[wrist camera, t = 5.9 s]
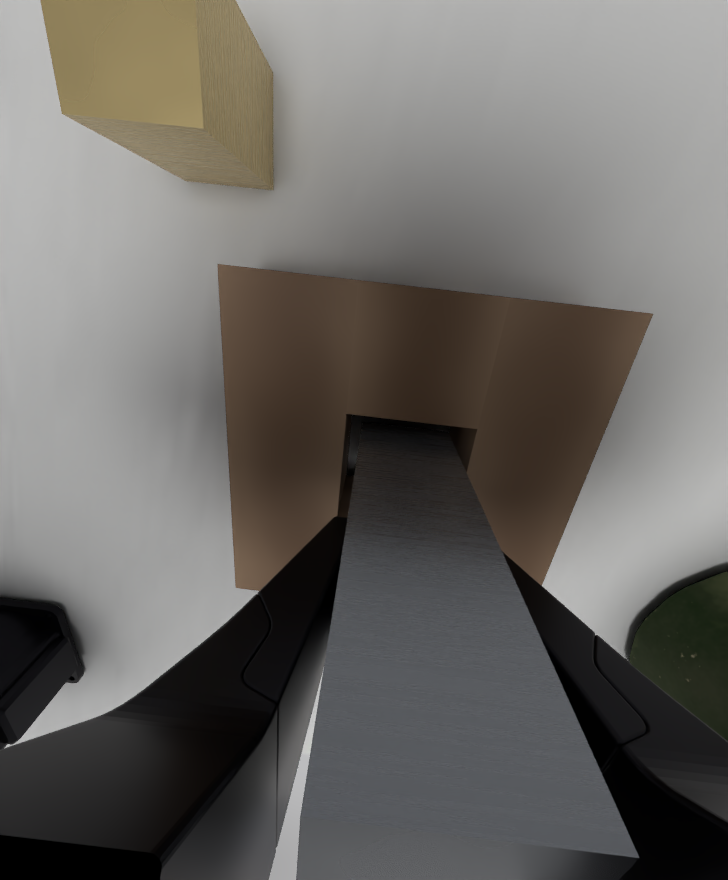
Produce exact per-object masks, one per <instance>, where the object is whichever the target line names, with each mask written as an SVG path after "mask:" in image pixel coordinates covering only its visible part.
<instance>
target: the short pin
mask: <svg viewBox="0 0 728 880" xmlns="http://www.w3.org/2000/svg"><path fill="white" fill-rule="evenodd" d="M41 5H42V11H43V16H44V21H45V26H46V32H47V37H48V42H49V48H50V53H51V58H52V63H53V69H54V74H55V79H56V85H57V90H58V95H59V100H60V106H61V111H62V114H63V115H65V116H67V117H69V118H71V119H73V120H74V121H76V122H78V123H80V124H82V125H84V126H86V127H87V128H89V129H91V130H93V131H95V132H97V133H98V134H100V135H102V136H104V137H106V138H108V139H110V140H111V141H113V142H115V143H117V144H119V145H121V146H122V147H124V148H126V149H128V150H130V151H132V152H133V153H135V154H137V155H139V156H141V157H143V158H145V159H146V160H148V161H150V162H152V163H154V164H156V165H157V166H159V167H161V168H163V169H165V170H167V171H169V172H170V173H172V174H174V175H176V176H178V177H180V178H181V179H183V180H185V181H191V182H201V183H210V184H220V185H229V186H238V187H248V188H257V189H267V190H273V72H272V70H271V68H270V66H269V64H268V62H267V60H266V58H265V56H264V54H263V53H262V51H261V49H260V47H259V45H258V43H257V41H256V39H255V37H254V35H253V33H252V31H251V29H250V27H249V26H248V24H247V22H246V20H245V18H244V16H243V14H242V12H241V10H240V8H239V6H238V4H237V2H236V0H41Z"/></svg>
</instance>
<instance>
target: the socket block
mask: <svg viewBox="0 0 728 880" xmlns="http://www.w3.org/2000/svg"><path fill="white" fill-rule="evenodd" d="M218 281H219V298H220V316H221V334H222V352H223V369H224V387H225V405H226V423H227V441H228V458H229V476H230V494H231V512H232V529H233V547H234V565H235V583H236V588H241V589H250V590H258V591H260V590H261V589H262V588H263V587H264V586H265V585H266V584H267V583H268V582H269V581H270V580H271V579H272V578H273V577H274V576H275V575H276V574H277V573H278V572H279V571H280V570H281V569H282V568H283V567H284V566H285V565H286V564H287V563H288V562H289V561H290V560H291V559H292V558H293V557H294V556H295V555H296V554H297V553H298V552H299V551H300V550H301V549H302V548H303V547H304V546H305V545H306V544H307V543H308V542H309V541H310V540H311V539H312V538H313V537H314V536H315V535H316V534H317V533H318V532H319V531H320V530H321V529H322V528H323V527H324V526H325V525H326V524H327V523H328V522H329V521H330V520H331V519H332V518H333V517H335V516H338V517H346V518H348V512H349V506H350V499H351V493H352V487H353V480H354V476H350V475H346V472H347V462H348V452H349V441H350V431H351V421H352V415H361V416H369V417H378V418H386V419H395V420H403V421H412V422H421V423H429V424H438V425H446V426H450V431H449V435H450V437H451V439H452V441H453V444H454V446H455V448H456V450H457V453H458V455H459V457H460V459H461V461H462V464H463V466H464V468H465V470H466V473H467V475H468V477H469V479H470V481H471V484H472V486H473V488H474V490H475V493H476V495H477V497H478V499H479V502H480V504H481V506H482V508H483V510H484V513H485V515H486V517H487V519H488V522H489V524H490V526H491V528H492V530H493V533H494V535H495V537H496V539H497V542H498V544H499V546H500V548H501V551H503V552H504V553H505V554H506V555H507V556H508V557H509V558H511V559H512V560H513V561H514V562H515V563H516V564H517V565H519V566H520V567H521V568H522V569H523V570H524V571H525V572H526V573H528V574H529V575H530V576H531V577H532V578H533V579H534V580H536V581H537V582H538V583H539V584H540V585H541V586H542V583H543V581H544V579H545V576H546V574H547V571H548V569H549V566H550V564H551V562H552V559H553V557H554V554H555V552H556V549H557V547H558V545H559V542H560V540H561V537H562V535H563V532H564V530H565V527H566V525H567V523H568V520H569V518H570V515H571V513H572V510H573V508H574V506H575V503H576V501H577V498H578V496H579V493H580V491H581V488H582V486H583V484H584V481H585V479H586V476H587V474H588V471H589V469H590V467H591V464H592V462H593V459H594V457H595V454H596V452H597V450H598V447H599V445H600V442H601V440H602V437H603V435H604V432H605V430H606V428H607V425H608V423H609V420H610V418H611V415H612V413H613V411H614V408H615V406H616V403H617V401H618V398H619V396H620V394H621V391H622V389H623V386H624V384H625V381H626V379H627V376H628V374H629V372H630V369H631V367H632V364H633V362H634V359H635V357H636V355H637V352H638V350H639V347H640V345H641V342H642V340H643V338H644V335H645V333H646V330H647V328H648V325H649V323H650V320H651V318H652V316H653V314H651V313H642V312H633V311H624V310H615V309H607V308H598V307H589V306H580V305H572V304H563V303H554V302H545V301H537V300H528V299H519V298H510V297H502V296H493V295H484V294H475V293H466V292H458V291H449V290H440V289H431V288H423V287H414V286H405V285H396V284H388V283H379V282H370V281H361V280H353V279H344V278H335V277H326V276H317V275H309V274H300V273H291V272H282V271H274V270H265V269H256V268H247V267H239V266H230V265H221V264H218Z"/></svg>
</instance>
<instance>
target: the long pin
mask: <svg viewBox="0 0 728 880" xmlns="http://www.w3.org/2000/svg"><path fill="white" fill-rule="evenodd" d="M638 859H639V856H638V853H637V851H636V849H635V847H634V845H633V842H632V840H631V838H630V836H629V833H628V831H627V829H626V827H625V825H624V822H623V820H622V818H621V816H620V813H619V811H618V809H617V807H616V804H615V802H614V800H613V798H612V796H611V793H610V791H609V789H608V787H607V784H606V782H605V780H604V778H603V776H602V773H601V771H600V769H599V767H598V764H597V762H596V760H595V758H594V755H593V753H592V751H591V749H590V747H589V744H588V742H587V740H586V738H585V735H584V733H583V731H582V729H581V727H580V724H579V722H578V720H577V718H576V715H575V713H574V711H573V709H572V706H571V704H570V702H569V700H568V698H567V695H566V693H565V691H564V689H563V686H562V684H561V682H560V680H559V678H558V675H557V673H556V671H555V669H554V666H553V664H552V662H551V660H550V657H549V655H548V653H547V651H546V649H545V646H544V644H543V642H542V640H541V637H540V635H539V633H538V631H537V628H536V626H535V624H534V622H533V620H532V617H531V615H530V613H529V611H528V608H527V606H526V604H525V602H524V600H523V597H522V595H521V593H520V591H519V588H518V586H517V584H516V582H515V579H514V577H513V575H512V573H511V571H510V568H509V566H508V564H507V562H506V559H505V557H504V555H503V553H502V551H501V548H500V546H499V544H498V542H497V539H496V537H495V535H494V533H493V530H492V528H491V526H490V524H489V522H488V519H487V517H486V515H485V513H484V510H483V508H482V506H481V504H480V502H479V499H478V497H477V495H476V493H475V490H474V488H473V486H472V484H471V481H470V479H469V477H468V475H467V473H466V470H465V468H464V466H463V464H462V461H461V459H460V457H459V455H458V453H457V450H456V448H455V446H454V444H453V441H452V439H451V437H450V435H449V432H446V431H437V430H428V429H420V428H411V427H403V426H394V425H386V424H377V423H368V422H363V423H362V430H361V436H360V442H359V449H358V455H357V461H356V468H355V474H354V480H353V487H352V493H351V499H350V506H349V512H348V518H347V525H346V531H345V537H344V544H343V550H342V556H341V563H340V569H339V575H338V582H337V588H336V594H335V601H334V607H333V613H332V620H331V626H330V632H329V639H328V645H327V651H326V658H325V664H324V670H323V677H322V683H321V689H320V696H319V702H318V708H317V715H316V721H315V727H314V734H313V740H312V746H311V753H310V759H309V766H308V772H307V779H306V784H305V791H304V797H303V804H302V810H301V816H300V831H299V846H298V862H297V877H296V880H619V879H620V878H621V877H622V876H623V875H624V874H625V873H626V872H627V871H628V870H629V869H630V868H631V866H632V865H633V864H634V863H635V862H636V861H637V860H638Z"/></svg>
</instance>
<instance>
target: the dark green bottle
mask: <svg viewBox="0 0 728 880" xmlns="http://www.w3.org/2000/svg"><path fill="white" fill-rule="evenodd" d="M629 659H630V664H632V665H633V666H634V667H635V668H636V669H637V670H639V671H640V672H641V673H642V674H644V675H645V676H646V677H647V678H649V679H650V680H651V681H652V682H654V683H655V684H656V685H657V686H658V687H660V688H661V689H662V690H663V691H665V692H666V693H667V694H668V695H670V696H671V697H672V698H673V699H675V700H676V701H677V702H679V703H680V704H681V705H682V706H684V707H685V708H686V709H687V710H689V711H690V712H691V713H693V714H694V715H695V716H696V717H698V718H699V719H700V720H701V721H703V722H704V723H705V724H707V725H708V726H709V727H710V728H712V729H713V730H714V731H715V732H717V733H718V734H719V735H721V736H722V737H723V738H724V739H726V740H727V741H728V571H727V572H723V573H720V574H717V575H715V576H712V577H710V578H707V579H705V580H702V581H700V582H697V583H695V584H692V585H690V586H687V587H685V588H683V589H682V590H680V591H678V592H677V593H675V594H673V595H672V596H670V597H668V598H667V599H666V600H665V601H664V602H663V603H662V604H661V605H660V606H658V607H657V608H656V609H655V610H654V611H653V612H652V613H651V614H650V615H649V616H648V617H647V618H645V620H644V621H643V623H642V624H641V626H640V627H639V629H638V630H637V632H636V634H635V638H634V641H633V645H632V649H631V653H630V657H629Z"/></svg>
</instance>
